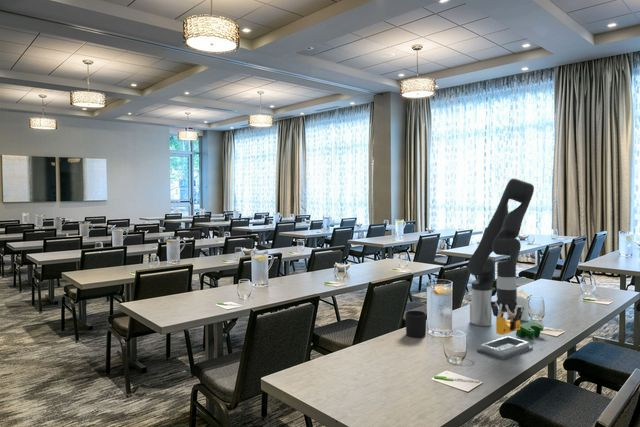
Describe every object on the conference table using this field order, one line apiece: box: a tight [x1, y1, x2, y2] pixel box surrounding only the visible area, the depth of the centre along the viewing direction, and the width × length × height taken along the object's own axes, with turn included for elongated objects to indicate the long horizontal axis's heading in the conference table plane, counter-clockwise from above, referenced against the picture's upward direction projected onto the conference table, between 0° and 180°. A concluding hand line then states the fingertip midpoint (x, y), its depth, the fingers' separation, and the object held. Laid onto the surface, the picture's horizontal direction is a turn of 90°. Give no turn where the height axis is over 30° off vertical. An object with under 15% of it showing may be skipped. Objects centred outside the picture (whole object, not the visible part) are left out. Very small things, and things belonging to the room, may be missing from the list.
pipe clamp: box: [495, 316, 521, 336], centre depth 186 cm, size 12×4×6 cm, turn 123°
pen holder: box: [404, 310, 427, 339], centre depth 208 cm, size 9×9×10 cm
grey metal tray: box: [476, 335, 534, 361], centre depth 186 cm, size 12×20×3 cm, turn 124°
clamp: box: [515, 320, 545, 341], centre depth 203 cm, size 12×6×9 cm, turn 117°
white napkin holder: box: [506, 294, 530, 322], centre depth 230 cm, size 10×4×12 cm, turn 39°
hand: (506, 328), depth 186 cm, fingers closed on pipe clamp, 4 cm apart
